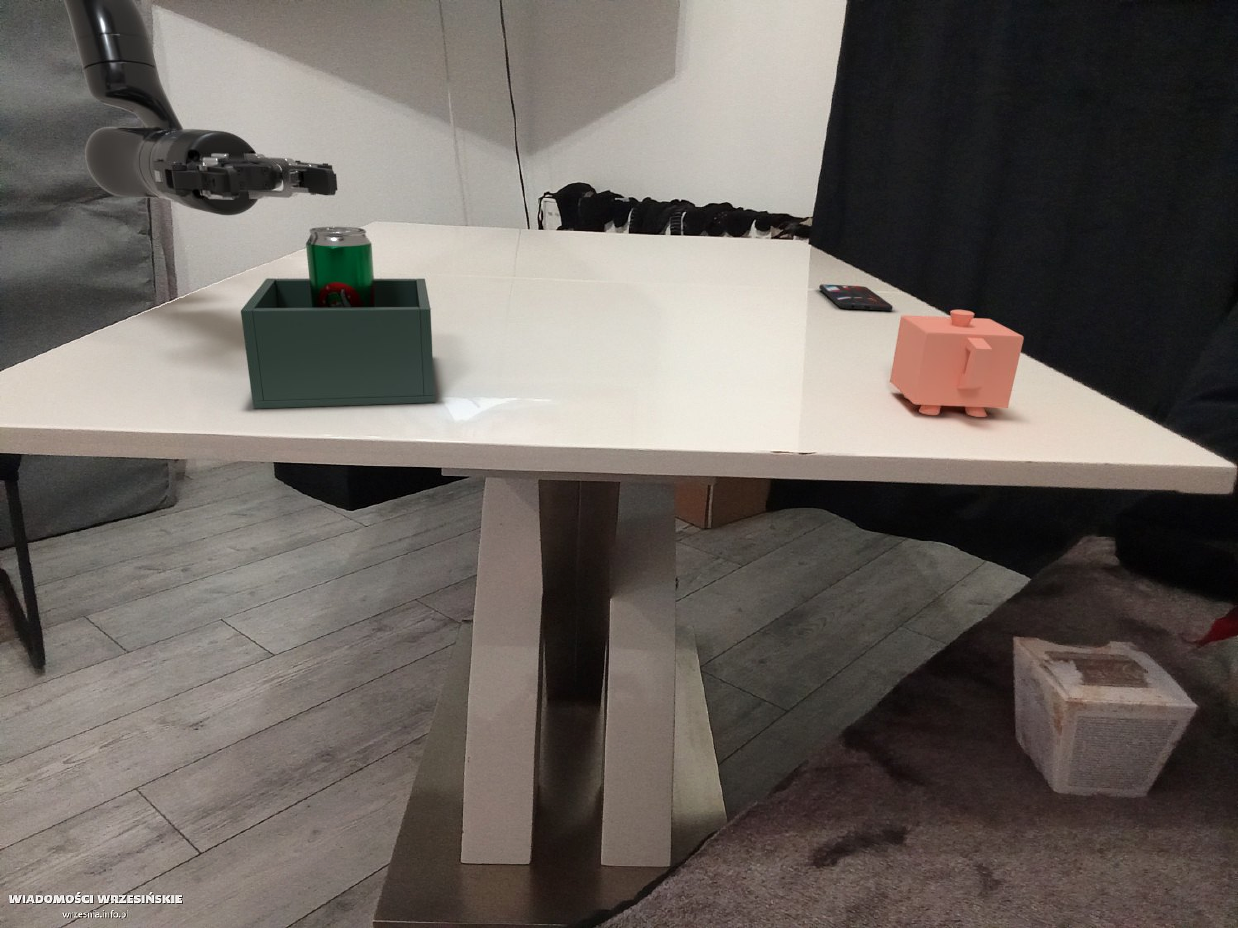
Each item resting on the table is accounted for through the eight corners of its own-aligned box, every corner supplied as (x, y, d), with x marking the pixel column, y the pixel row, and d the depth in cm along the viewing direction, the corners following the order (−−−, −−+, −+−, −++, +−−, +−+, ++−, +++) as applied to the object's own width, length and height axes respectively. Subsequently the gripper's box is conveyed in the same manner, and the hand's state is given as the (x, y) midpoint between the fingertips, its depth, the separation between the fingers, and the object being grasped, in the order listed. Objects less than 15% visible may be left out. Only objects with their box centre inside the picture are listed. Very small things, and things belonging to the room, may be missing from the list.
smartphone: (841, 304, 110) (818, 283, 124) (840, 309, 110) (817, 288, 124) (895, 306, 110) (866, 286, 124) (894, 311, 110) (865, 290, 124)
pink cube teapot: (960, 385, 78) (977, 298, 75) (1016, 428, 67) (1039, 327, 64) (877, 382, 78) (892, 294, 75) (920, 424, 67) (939, 323, 64)
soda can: (349, 362, 74) (337, 224, 70) (392, 371, 72) (384, 230, 68) (305, 375, 70) (290, 229, 66) (350, 385, 68) (337, 235, 63)
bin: (253, 409, 63) (240, 310, 61) (276, 362, 76) (266, 278, 73) (434, 402, 67) (430, 308, 64) (428, 359, 79) (424, 278, 76)
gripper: (118, 126, 74) (191, 133, 64) (272, 132, 84) (357, 138, 74) (132, 214, 77) (205, 233, 67) (280, 209, 86) (363, 225, 76)
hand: (285, 183), depth 70 cm, fingers open, 8 cm apart
